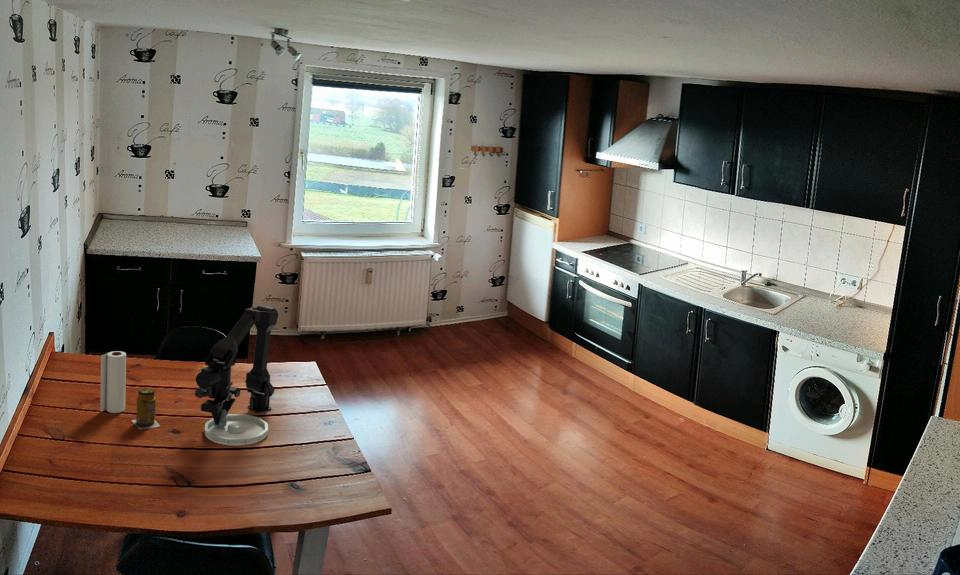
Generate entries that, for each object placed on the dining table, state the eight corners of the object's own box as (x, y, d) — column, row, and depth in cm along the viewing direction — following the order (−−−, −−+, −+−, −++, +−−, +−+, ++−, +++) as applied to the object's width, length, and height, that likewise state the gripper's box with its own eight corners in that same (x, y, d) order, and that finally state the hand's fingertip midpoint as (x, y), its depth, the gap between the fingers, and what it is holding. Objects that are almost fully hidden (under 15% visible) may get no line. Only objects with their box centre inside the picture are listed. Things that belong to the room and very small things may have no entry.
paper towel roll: (127, 407, 299) (128, 351, 294) (121, 414, 293) (122, 357, 288) (107, 405, 298) (108, 349, 293) (100, 412, 293) (100, 354, 287)
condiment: (152, 417, 294) (153, 385, 291) (160, 426, 287) (161, 394, 284) (131, 420, 289) (131, 388, 286) (138, 430, 283) (139, 397, 280)
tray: (246, 415, 304) (247, 410, 304) (279, 436, 291) (279, 430, 290) (193, 428, 289) (193, 422, 288) (224, 450, 275) (225, 444, 275)
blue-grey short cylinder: (222, 421, 293) (222, 408, 292) (228, 425, 290) (229, 412, 289) (210, 423, 290) (211, 410, 289) (217, 428, 287) (217, 415, 286)
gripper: (212, 367, 296) (210, 408, 300) (186, 385, 278) (185, 428, 282) (241, 372, 295) (239, 413, 299) (218, 390, 277) (216, 434, 281)
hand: (219, 422), depth 290 cm, fingers closed on blue-grey short cylinder, 4 cm apart
